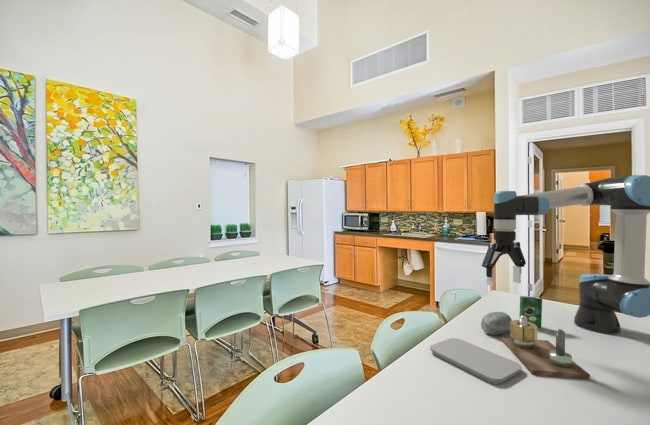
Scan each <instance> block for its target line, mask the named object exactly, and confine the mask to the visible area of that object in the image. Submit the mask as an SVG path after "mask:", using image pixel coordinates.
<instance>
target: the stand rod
mask: <svg viewBox="0 0 650 425" xmlns="http://www.w3.org/2000/svg"><path fill="white" fill-rule="evenodd" d="M519 319H520V325H521V326H527V317H526V316H524V315H522V316H520V315H519ZM514 345H515V346H517V347H519V348H523V349H532V348H533V342H524V341H523V342H522V341H519V340H516V339H514Z"/></svg>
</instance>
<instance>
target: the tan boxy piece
mask: <svg viewBox="0 0 650 425" xmlns="http://www.w3.org/2000/svg"><path fill="white" fill-rule="evenodd" d="M509 336H511V337H510V338H514V339H516V340H519V341H522V342H523V341H524V342H535V341H537V340H538V328H537V326H536V325H535V324H534V323H531V322H527V326H521V325H520V320H519V319H515V320H514V319H512V321H510V330H509Z"/></svg>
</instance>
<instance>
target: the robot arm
mask: <svg viewBox="0 0 650 425" xmlns="http://www.w3.org/2000/svg"><path fill="white" fill-rule="evenodd" d="M578 205H580V206H582V207H583V206H584V207H587V206H610V211H611V212H612V213H614V214H615V221H614V222H615V226H614V227H615V230H614V251H613V254H614V255H613V256H614V257H613V274H604V273H602V274H600V273H583V274H581V275H580V277H579V281H578V285H579V288H578V294H579V306H578V309H577V311H576V313H575V316H574V319H573V321H574V322H573V323H574V324H575V326H577V327H579V328H582V329H585V330H589V331H591V332H595V333H602V334H619V333H621V328H622V327H621V324H620V321H619V318H618V316H617V315H616V312H619V313H621V314H623V315H625V316H630V317H633V318H639V319H642V318H646V317H649V316H650V281H649V280H648V279H647V278H645V276H646V275H645V273H646V272H645V270H646V248H647V247H646V246H647V245H646V244H647V224H648V223H647V220H648V215H650V175H645V174H641V175H640V174H635V175H633V174H632V175H627V176H626V175H625V176H617V177H616V176H615V177H608V178H603V179H598V180H596V181H591V182H586V183H581V184H580V183H579V184H577V186H574V187H569V188H563V189H561V188H560V189H555V190H549V191H541V192H537V193H529V194H528V193H527V194H522V195H517V192H516V191H515V190H500V191H496V192H494V196H493V229H494V231H493V240H495V242H489V243H488V246H487V247H488V248H487V250H486V253H485V255H484V258H483V261H482V263H481V267H483V268H485V270H486V275H485V276H486V285H487V286H491V287H495V275H496V274H495V270H496V269H494V267H495V265H496V264H497V263H498V261H499V259H500V257H501V256H503V255H506V254H507V255H508V257H509V258H510V260H511V261H512V263H513V264H514V265H513V267H512V271H513V272H512V282H513V283H516V284H521V283H522V267H523V268H524V267H525V265H526V264H527V261H526V259H525V256H524V254H523V251H522V248H521V243H520V242H518V241H516V240H517V234H516V233H517V232H516V230H517V216H545V215H547V213H548V211H550V209H557V208H562V207H563V208H564V207H571V206H578Z"/></svg>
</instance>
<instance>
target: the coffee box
mask: <svg viewBox="0 0 650 425" xmlns="http://www.w3.org/2000/svg"><path fill="white" fill-rule="evenodd" d="M542 313H543V299H542V298H541V297H539V296H526V295H525V296H524V295H520V296H519V317H520V316H522V315H524V316H526V317H527V322H531V323H534V324H535V325H536V326H537V329H538V328H539V329H541V328H542V316H543V315H542ZM518 320H520V318H519V319H518Z"/></svg>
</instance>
